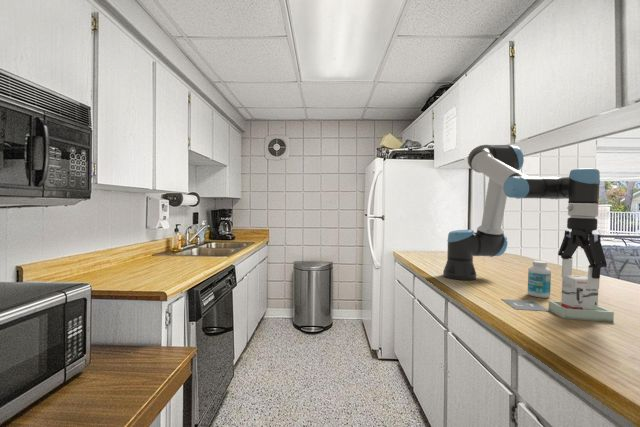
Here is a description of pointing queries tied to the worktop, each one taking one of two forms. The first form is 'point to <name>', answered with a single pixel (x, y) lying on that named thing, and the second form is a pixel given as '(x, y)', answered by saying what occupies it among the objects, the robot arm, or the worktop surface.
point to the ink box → (578, 293)
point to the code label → (525, 305)
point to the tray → (581, 313)
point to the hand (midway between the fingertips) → (578, 283)
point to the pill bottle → (539, 280)
